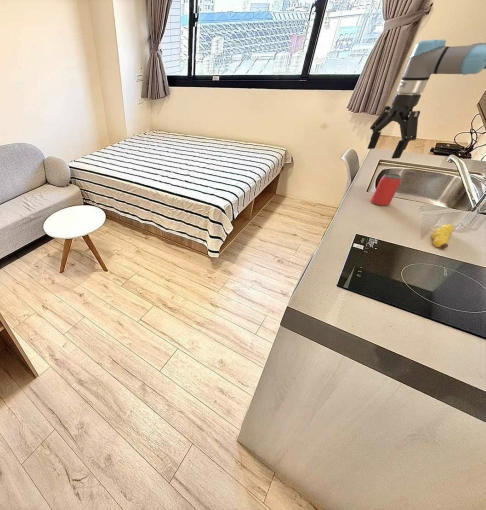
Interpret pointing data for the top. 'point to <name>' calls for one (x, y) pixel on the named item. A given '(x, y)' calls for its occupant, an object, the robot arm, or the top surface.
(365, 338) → the top surface
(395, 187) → the beer can
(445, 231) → the yellow lumpy toy
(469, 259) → the top surface
